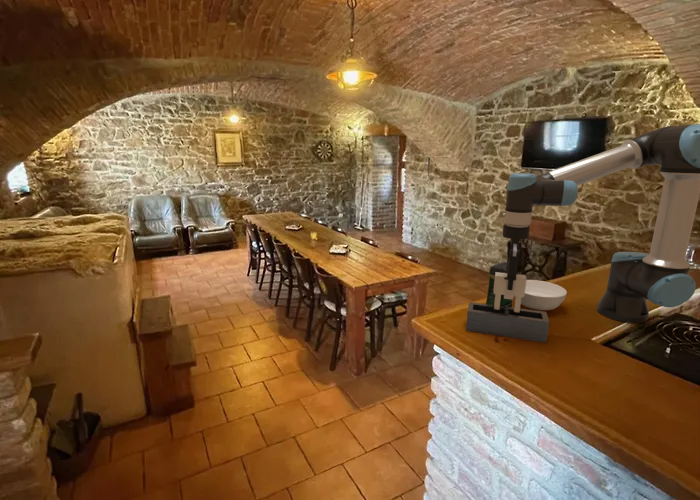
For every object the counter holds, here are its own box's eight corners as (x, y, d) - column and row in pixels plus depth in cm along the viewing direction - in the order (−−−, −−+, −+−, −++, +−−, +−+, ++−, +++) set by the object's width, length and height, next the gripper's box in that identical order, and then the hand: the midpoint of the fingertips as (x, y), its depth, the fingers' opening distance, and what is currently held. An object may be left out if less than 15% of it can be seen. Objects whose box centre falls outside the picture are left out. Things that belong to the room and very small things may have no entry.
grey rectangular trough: (543, 331, 125) (546, 311, 123) (546, 342, 118) (549, 322, 116) (467, 320, 133) (469, 301, 131) (465, 330, 126) (467, 311, 124)
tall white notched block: (521, 308, 124) (525, 275, 121) (521, 313, 120) (526, 279, 117) (491, 304, 127) (495, 272, 124) (491, 309, 123) (495, 275, 120)
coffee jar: (502, 319, 134) (507, 269, 129) (481, 312, 140) (486, 264, 135) (515, 311, 140) (520, 263, 135) (495, 305, 146) (499, 259, 141)
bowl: (562, 320, 133) (565, 301, 131) (507, 309, 142) (509, 291, 141) (565, 302, 148) (568, 285, 146) (515, 293, 157) (517, 276, 155)
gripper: (503, 219, 125) (495, 285, 131) (503, 229, 109) (495, 304, 116) (528, 220, 122) (519, 288, 129) (532, 231, 107) (522, 307, 113)
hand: (508, 295), depth 122 cm, fingers closed on tall white notched block, 4 cm apart
